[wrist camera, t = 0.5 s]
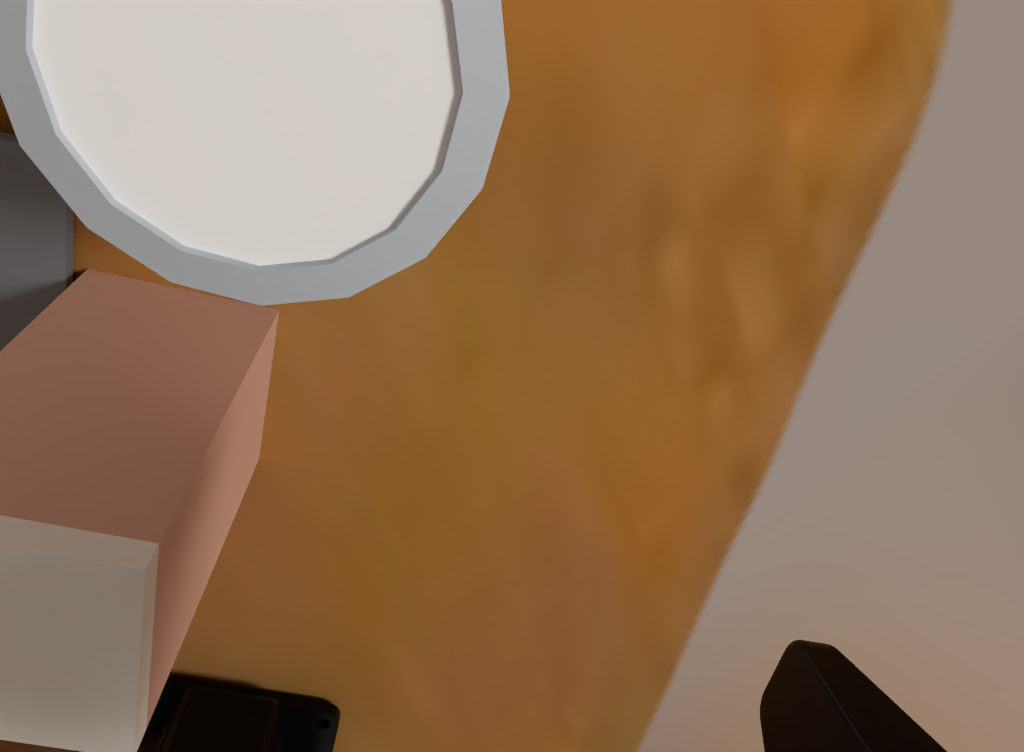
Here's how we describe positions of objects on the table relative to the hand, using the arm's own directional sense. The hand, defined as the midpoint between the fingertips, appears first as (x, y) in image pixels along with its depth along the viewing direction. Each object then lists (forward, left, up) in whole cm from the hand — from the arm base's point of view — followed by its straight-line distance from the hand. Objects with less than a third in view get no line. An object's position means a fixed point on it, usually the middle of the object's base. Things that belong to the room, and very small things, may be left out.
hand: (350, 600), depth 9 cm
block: (-6, +5, -13) cm, 15 cm away
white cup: (+3, +3, -13) cm, 14 cm away
